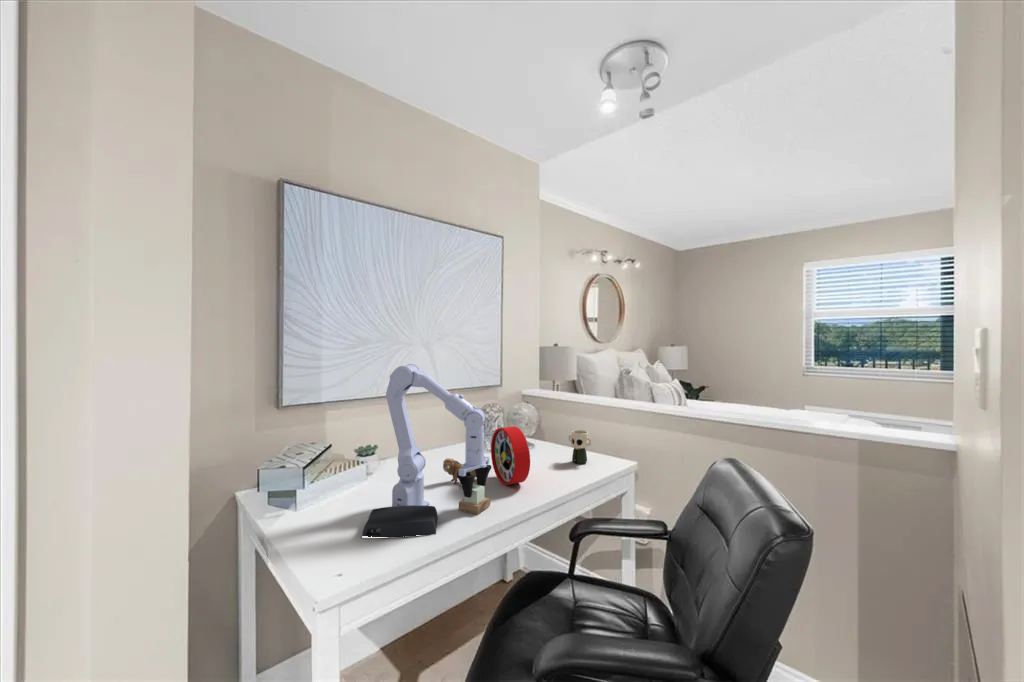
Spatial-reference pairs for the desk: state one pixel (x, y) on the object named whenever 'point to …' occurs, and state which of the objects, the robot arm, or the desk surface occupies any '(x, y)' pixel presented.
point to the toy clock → (510, 455)
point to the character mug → (579, 445)
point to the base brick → (474, 506)
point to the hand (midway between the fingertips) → (474, 492)
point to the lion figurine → (454, 468)
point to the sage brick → (476, 494)
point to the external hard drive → (401, 521)
